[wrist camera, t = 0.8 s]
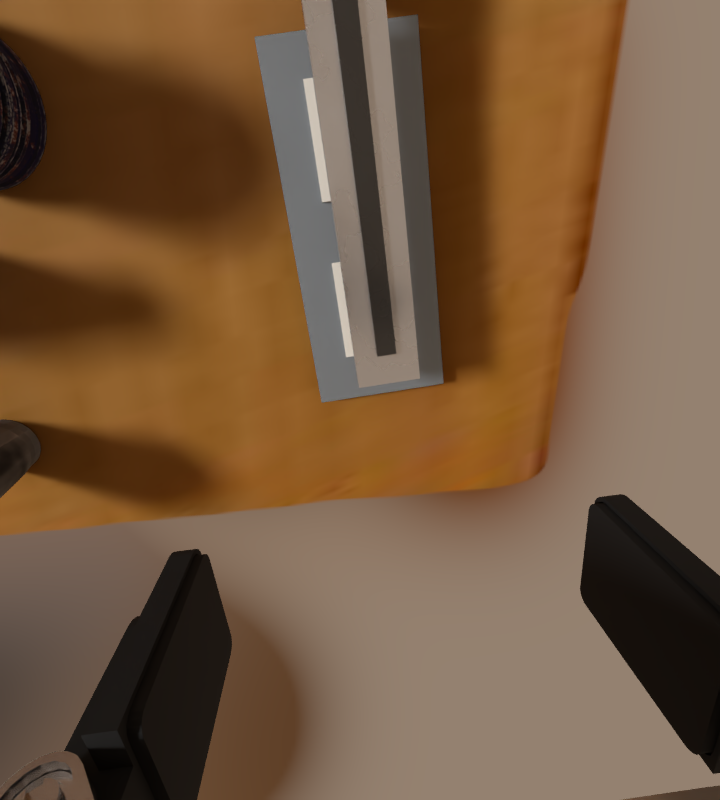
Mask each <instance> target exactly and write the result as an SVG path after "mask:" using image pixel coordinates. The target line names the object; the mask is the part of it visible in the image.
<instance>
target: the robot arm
mask: <svg viewBox="0 0 720 800" xmlns="http://www.w3.org/2000/svg"><path fill="white" fill-rule="evenodd" d="M580 591H581V596H582V599H583V601H584V603H585V604H586V606H587V607H588V608H589V610H590V612H591V613H592V614H593V616H594V617H595V618H596V620H597V622H598V623H599V624H600V626H601V627H602V628H603V630H604V631H605V633H606V634H607V636H608V637H609V638H610V640H611V641H612V643H613V644H614V646H615V647H616V648H617V650H618V651H619V653H620V654H621V655H622V657H623V658H624V660H625V661H626V662H627V664H628V665H629V667H630V668H631V670H632V671H633V672H634V674H635V675H636V677H637V678H638V679H639V681H640V682H641V683H642V685H643V686H644V688H645V689H646V691H647V692H648V693H649V695H650V696H651V698H652V699H653V701H654V702H655V703H656V705H657V706H658V708H659V709H660V710H661V712H662V713H663V715H664V716H665V717H666V719H667V720H668V722H669V723H670V724H671V726H672V727H673V729H674V730H675V731H676V733H677V734H678V736H679V737H680V739H681V740H682V742H683V743H684V744H685V745H686V747H687V748H688V749H689V750H690V751H691V752H692V753H694V754H696V755H697V754H699V755H700V756H701V758H702V759H703V760H704V762H705V763H706V765H707V766H708V767H709V769H710V770H711V771H712V773H713V774H714V773H720V576H719V575H718V574H717V573H716V572H714V571H713V570H712V569H711V568H710V567H709V566H707V565H706V564H705V563H704V562H703V561H701V560H700V559H699V558H698V557H697V556H696V555H695V554H693V553H692V552H691V551H690V550H689V549H687V548H686V547H685V546H684V545H683V544H682V543H681V542H679V541H678V540H677V539H676V538H675V537H674V536H672V535H671V534H670V533H669V532H668V531H667V530H665V529H664V528H663V527H662V526H660V524H658V523H657V522H656V521H655V520H654V519H653V518H651V517H650V516H649V515H648V514H647V513H646V512H644V511H643V510H642V509H641V508H640V507H638V506H637V505H636V504H635V503H634V502H633V501H632V500H630V499H629V498H628V497H627V496H625V495H621V494H620V495H612V496H606V497H605V496H604V497H599V498H597V499H596V500H595V504H592V505H591V506H590V508H589V514H588V523H587V532H586V541H585V550H584V559H583V569H582V577H581V586H580ZM231 640H232V639H231V634H230V630H229V627H228V623H227V619H226V616H225V613H224V609H223V605H222V602H221V599H220V595H219V591H218V588H217V584H216V581H215V577H214V574H213V570H212V567H211V563H210V559H209V557H208V555H207V554H203V555H201V552H200V551H199V550H198V549H193V550H185V551H177V552H173V553H172V554H171V555H170V557H169V559H168V561H167V563H166V565H165V567H164V569H163V571H162V573H161V575H160V577H159V579H158V581H157V583H156V585H155V587H154V589H153V591H152V593H151V595H150V597H149V599H148V601H147V603H146V605H145V607H144V609H143V611H142V613H141V615H140V616H137V617H136V618H135V619H133V620H132V621H131V623H130V624H129V626H128V628H127V630H126V632H125V634H124V635H123V638H122V639H121V641H120V643H119V645H118V647H117V649H116V651H115V653H114V655H113V657H112V659H111V661H110V663H109V665H108V667H107V669H106V671H105V672H104V675H103V676H102V679H101V680H100V682H99V684H98V686H97V688H96V690H95V692H94V694H93V696H92V698H91V700H90V702H89V704H88V706H87V708H86V710H85V712H84V713H83V715H82V717H81V719H80V721H79V723H78V725H77V727H76V729H75V731H74V733H73V735H72V737H71V739H70V741H69V743H68V745H67V746H66V748H65V750H64V751H57V752H52V753H49V754H47V755H44V756H41V757H39V758H37V759H35V760H34V761H32V762H31V763H29V764H27V765H25V766H24V767H22V768H21V769H20V770H19V771H17V772H16V773H15V774H14V775H13V776H11V777H10V778H9V779H8V780H7V781H6V782H5V783H4V784H3V785H2V786H1V787H0V800H197V796H198V792H199V788H200V784H201V780H202V775H203V771H204V766H205V762H206V758H207V753H208V749H209V745H210V741H211V736H212V732H213V728H214V723H215V719H216V715H217V711H218V706H219V702H220V697H221V693H222V689H223V685H224V680H225V676H226V671H227V668H228V663H229V659H230V655H231V647H232V641H231ZM623 800H720V786H714V787H705V788H699V789H692V790H685V791H678V792H671V793H665V794H657V795H651V796H644V797H637V798H630V799H623Z"/></svg>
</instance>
